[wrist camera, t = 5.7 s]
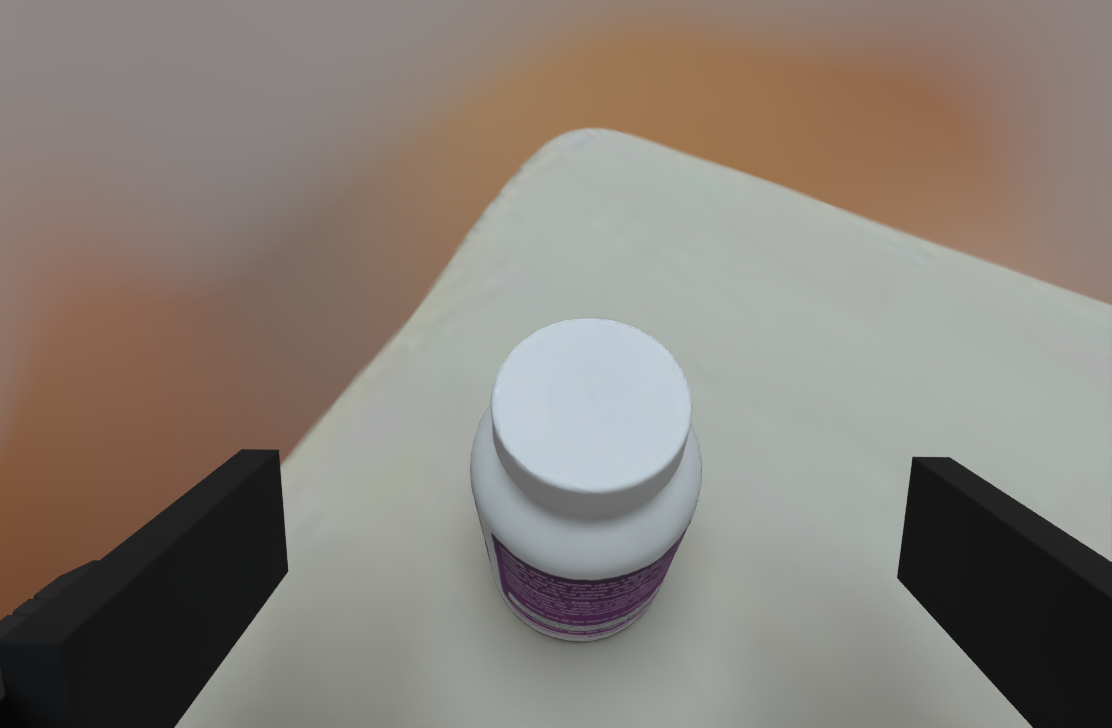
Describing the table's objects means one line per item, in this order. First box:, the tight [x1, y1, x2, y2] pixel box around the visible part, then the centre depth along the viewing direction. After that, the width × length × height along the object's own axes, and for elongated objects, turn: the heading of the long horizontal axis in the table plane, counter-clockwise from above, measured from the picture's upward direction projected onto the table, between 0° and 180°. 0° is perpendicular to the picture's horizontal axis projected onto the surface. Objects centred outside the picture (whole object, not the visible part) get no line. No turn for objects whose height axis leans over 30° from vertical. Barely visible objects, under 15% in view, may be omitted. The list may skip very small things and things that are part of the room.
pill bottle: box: [470, 318, 702, 641], centre depth 18 cm, size 5×5×10 cm
